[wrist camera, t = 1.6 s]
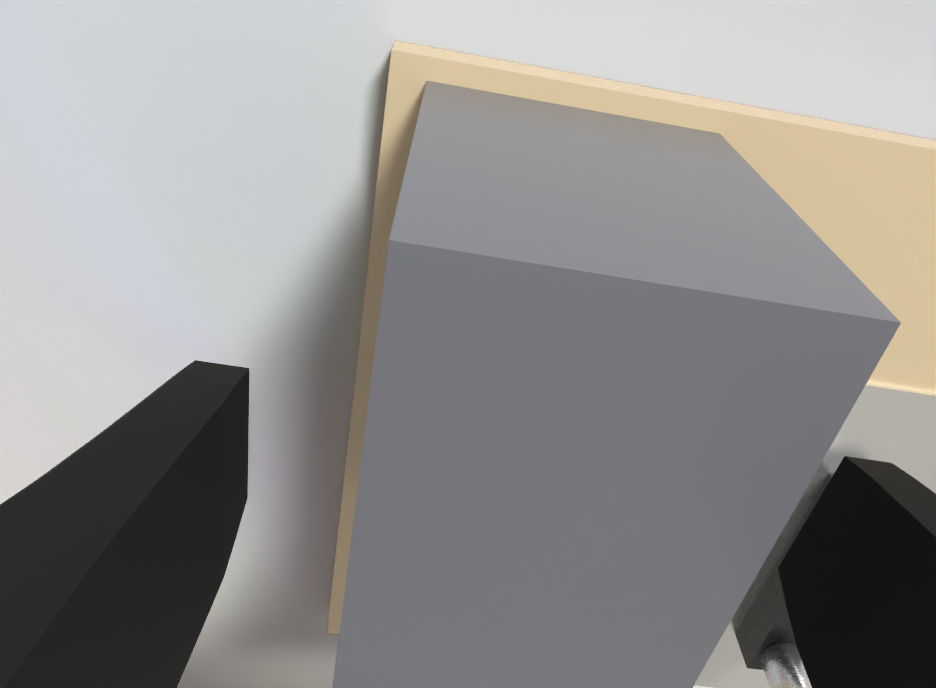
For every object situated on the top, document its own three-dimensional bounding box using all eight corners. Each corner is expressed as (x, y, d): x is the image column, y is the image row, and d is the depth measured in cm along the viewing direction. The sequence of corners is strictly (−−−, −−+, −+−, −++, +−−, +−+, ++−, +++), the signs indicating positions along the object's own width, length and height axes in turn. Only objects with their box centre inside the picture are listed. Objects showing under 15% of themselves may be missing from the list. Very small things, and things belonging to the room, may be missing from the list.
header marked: (832, 696, 17) (903, 859, 14) (612, 671, 16) (641, 834, 14) (1049, 409, 12) (1215, 565, 10) (755, 365, 12) (841, 513, 9)
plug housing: (581, 518, 14) (628, 800, 10) (370, 491, 13) (321, 770, 9) (719, 133, 10) (900, 323, 6) (427, 80, 10) (389, 239, 5)
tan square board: (921, 679, 17) (934, 703, 17) (331, 609, 16) (326, 633, 16) (1317, 211, 11) (1357, 227, 11) (396, 40, 10) (392, 49, 9)
